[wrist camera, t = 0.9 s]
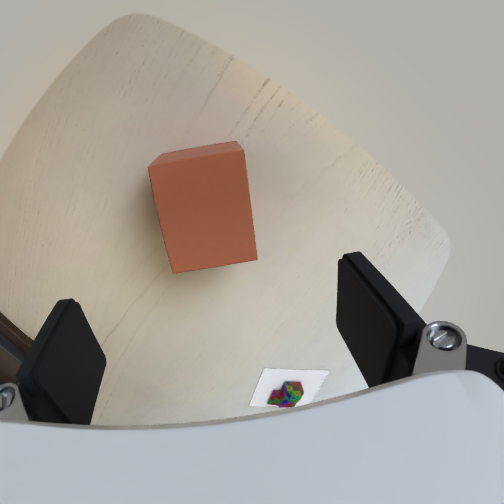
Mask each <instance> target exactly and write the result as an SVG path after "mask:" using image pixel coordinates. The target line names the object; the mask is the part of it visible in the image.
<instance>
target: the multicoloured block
mask: <svg viewBox="0 0 504 504" xmlns="http://www.w3.org/2000/svg"><path fill="white" fill-rule="evenodd" d="M329 371H330V370H288V369H266V368H264V370H263V372H262V375H261V377H260V380H259V382H258V385H257V387H256V390H255V392H254V394H253V397H252V399H251V402H250V404H249V406H279V407H295V406H301V405H305V404H310V403H311V401H312V400H313V398H314V397H315V395H316V393H317V392H318V390H319V388H320V387H321V385H322V383H323V381H324V380H325V378H326V376H327V375H328V373H329Z"/></svg>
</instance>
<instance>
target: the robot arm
mask: <svg viewBox="0 0 504 504" xmlns="http://www.w3.org/2000/svg"><path fill="white" fill-rule="evenodd" d="M336 324H337V328H338V330H339V332H340V334H341V336H342V338H343V339H344V341H345V343H346V345H347V347H348V349H349V351H350V352H351V354H352V356H353V358H354V360H355V362H356V364H357V366H358V367H359V369H360V371H361V373H362V375H363V377H364V379H365V381H366V383H367V385H368V386H369V388H367V389H364V390H360V391H357V392H353V393H350V394H346V395H342V396H338V397H334V398H330V399H326V400H322V401H318V402H314V403H310V404H305V405H301V406H296V407H291V408H287V409H282V410H276V411H271V412H265V413H260V414H254V415H247V416H241V417H234V418H226V419H218V420H210V421H200V422H190V423H177V424H161V425H132V426H104V425H90V423H91V419H92V415H93V411H94V407H95V403H96V399H97V395H98V392H99V388H100V384H101V381H102V377H103V374H104V370H105V367H106V357H105V355H104V353H103V351H102V349H101V347H100V345H99V343H98V341H97V339H96V337H95V335H94V333H93V331H92V329H91V327H90V325H89V323H88V321H87V319H86V317H85V315H84V313H83V311H82V308H81V306H80V304H79V303H78V302H75V300H74V299H64V300H59V301H58V302H57V303H56V305H55V306H54V308H53V310H52V311H51V313H50V314H49V316H48V318H47V319H46V321H45V323H44V324H43V326H42V328H41V329H40V331H39V333H38V335H37V336H36V338H35V340H34V342H33V343H32V345H31V347H30V349H29V351H28V352H27V354H26V356H25V358H24V360H23V362H22V364H21V366H20V368H19V370H18V371H17V373H16V375H15V377H16V379H17V380H18V382H19V386H18V387H17V385H15V384H14V383H10V382H9V383H4V384H2V385H0V504H504V353H502V352H497V351H493V350H489V349H484V348H480V347H476V346H472V345H468V344H467V339H466V335H465V333H464V332H463V331H462V330H461V329H460V328H459V327H458V326H456V325H455V324H453V323H450V322H446V321H436V322H432V323H430V324H428V325H427V324H426V323H425V322H424V321H423V320H422V318H421V317H420V316H419V315H418V314H417V313H416V312H415V310H414V309H413V308H412V307H411V306H410V305H409V304H408V303H407V301H406V300H405V299H404V298H403V297H402V296H401V295H400V294H399V293H398V291H397V290H396V289H395V288H394V287H393V286H392V285H391V284H390V283H389V282H388V281H387V280H386V278H385V277H384V276H383V275H382V274H381V273H380V272H379V271H378V270H377V269H376V268H375V267H374V266H373V265H372V264H371V262H370V261H369V260H368V259H367V258H366V257H365V256H364V255H363V254H362V253H361V252H353V253H348V254H344V255H343V257H342V259H339V261H338V288H337V313H336Z"/></svg>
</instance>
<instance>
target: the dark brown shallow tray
mask: <svg viewBox="0 0 504 504" xmlns="http://www.w3.org/2000/svg"><path fill="white" fill-rule="evenodd" d="M33 342H34V341H32V340H31V339H30V338H29V337H28V336H26V335H25V334H24V333H23V332H22V331H20V330H19V329H18V328H17V327H16V326H15V325H14V324H12V323H11V322H10V321H9V320H8V319H7V318H6V317H5V316H4V315H2V314H1V313H0V385H2V384H4V383H9V382H10V383H14V384H15V385H17V387H18V386H19V382H18V380H17V379H16V377H15V375H16V373H17V371H18V370H19V368H20V366H21V364H22V362H23V360H24V358H25V356H26V354H27V352H28V351H29V349H30V347H31V345H32V343H33Z"/></svg>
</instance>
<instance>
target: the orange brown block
mask: <svg viewBox="0 0 504 504" xmlns="http://www.w3.org/2000/svg"><path fill="white" fill-rule="evenodd" d="M148 171H149V176H150V181H151V186H152V191H153V195H154V200H155V204H156V208H157V213H158V217H159V221H160V226H161V230H162V234H163V238H164V242H165V246H166V250H167V253H168V257H169V261H170V265H171V269H172V272H173V274H174V273H181V272H187V271H193V270H199V269H205V268H211V267H217V266H223V265H229V264H235V263H242V262H248V261H254V260H257V259H258V258H257V250H256V242H255V234H254V226H253V218H252V210H251V202H250V194H249V186H248V178H247V170H246V162H245V154H244V150H243V149H242V147H241V146H240V145H239V144H238V143H237V142H236V141H233V142H227V143H220V144H214V145H207V146H201V147H196V148H190V149H185V150H179V151H174V152H169V153H164V154H161V155H160V156H158V157H157V158H156V159H155V160H154V161H153V162H152V163H151V164H150V165H149V166H148Z"/></svg>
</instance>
